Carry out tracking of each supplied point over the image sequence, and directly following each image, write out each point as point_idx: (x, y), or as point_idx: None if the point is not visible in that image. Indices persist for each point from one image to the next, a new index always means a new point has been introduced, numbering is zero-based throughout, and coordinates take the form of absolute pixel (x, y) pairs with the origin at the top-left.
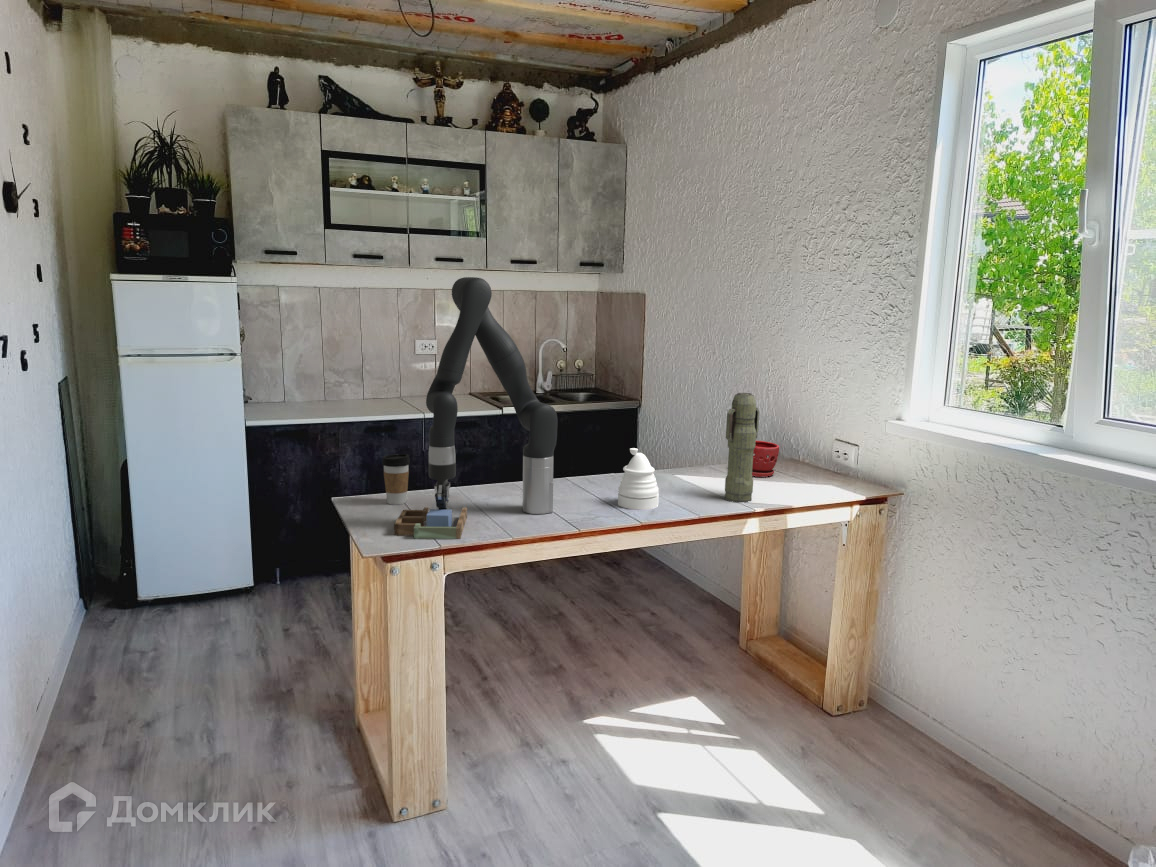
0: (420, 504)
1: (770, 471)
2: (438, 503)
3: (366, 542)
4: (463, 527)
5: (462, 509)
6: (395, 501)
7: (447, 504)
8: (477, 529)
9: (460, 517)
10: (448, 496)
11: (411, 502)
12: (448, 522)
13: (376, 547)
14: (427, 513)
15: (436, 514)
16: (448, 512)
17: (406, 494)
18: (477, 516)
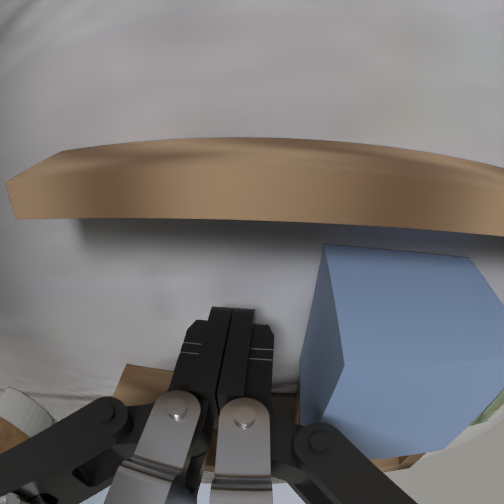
0: (5, 362)
1: None
2: (315, 489)
3: (436, 451)
4: (392, 149)
5: (61, 214)
6: (45, 421)
7: (185, 411)
8: (413, 25)
9: (392, 214)
10: (168, 498)
11: (7, 378)
12: (501, 308)
13: (487, 426)
14: (153, 397)
15: (457, 421)
16: (447, 373)
17: (5, 409)
18: (30, 79)
